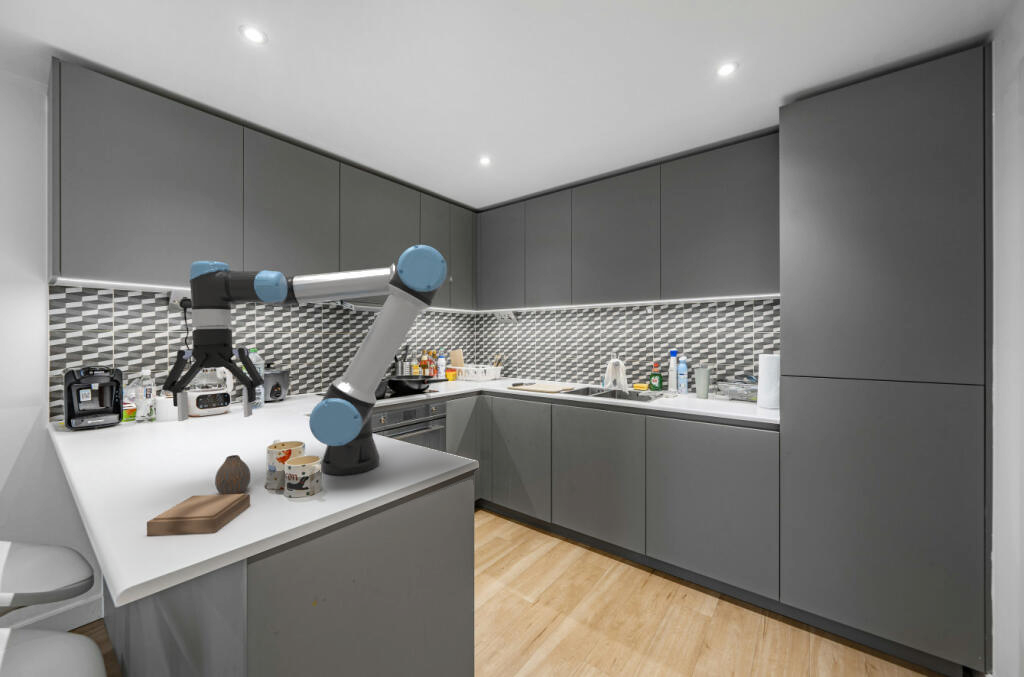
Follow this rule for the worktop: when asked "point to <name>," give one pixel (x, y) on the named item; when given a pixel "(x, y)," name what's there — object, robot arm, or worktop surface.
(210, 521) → the tray
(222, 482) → the vase
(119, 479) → the worktop surface
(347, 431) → the robot arm
